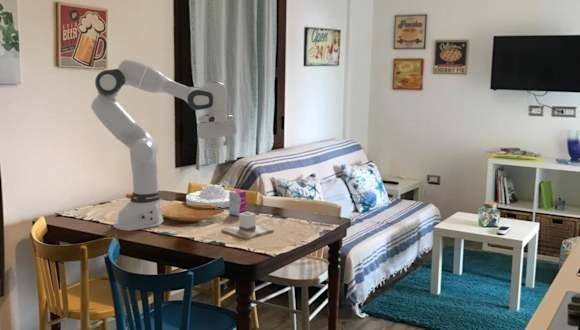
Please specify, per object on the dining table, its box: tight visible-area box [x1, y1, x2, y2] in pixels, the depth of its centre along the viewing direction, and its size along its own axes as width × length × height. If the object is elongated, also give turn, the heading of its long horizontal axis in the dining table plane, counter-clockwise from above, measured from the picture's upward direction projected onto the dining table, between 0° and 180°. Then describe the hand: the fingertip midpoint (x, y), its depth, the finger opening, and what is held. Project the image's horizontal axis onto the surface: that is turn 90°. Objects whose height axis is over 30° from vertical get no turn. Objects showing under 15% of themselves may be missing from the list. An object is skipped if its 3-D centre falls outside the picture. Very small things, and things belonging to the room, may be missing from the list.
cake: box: [185, 181, 231, 209], centre depth 324 cm, size 28×28×10 cm
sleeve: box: [238, 211, 257, 232], centre depth 272 cm, size 5×5×7 cm
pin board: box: [221, 223, 275, 240], centre depth 272 cm, size 16×16×4 cm
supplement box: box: [228, 189, 247, 218], centre depth 299 cm, size 6×6×12 cm
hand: (217, 146), depth 291 cm, fingers open, 8 cm apart
